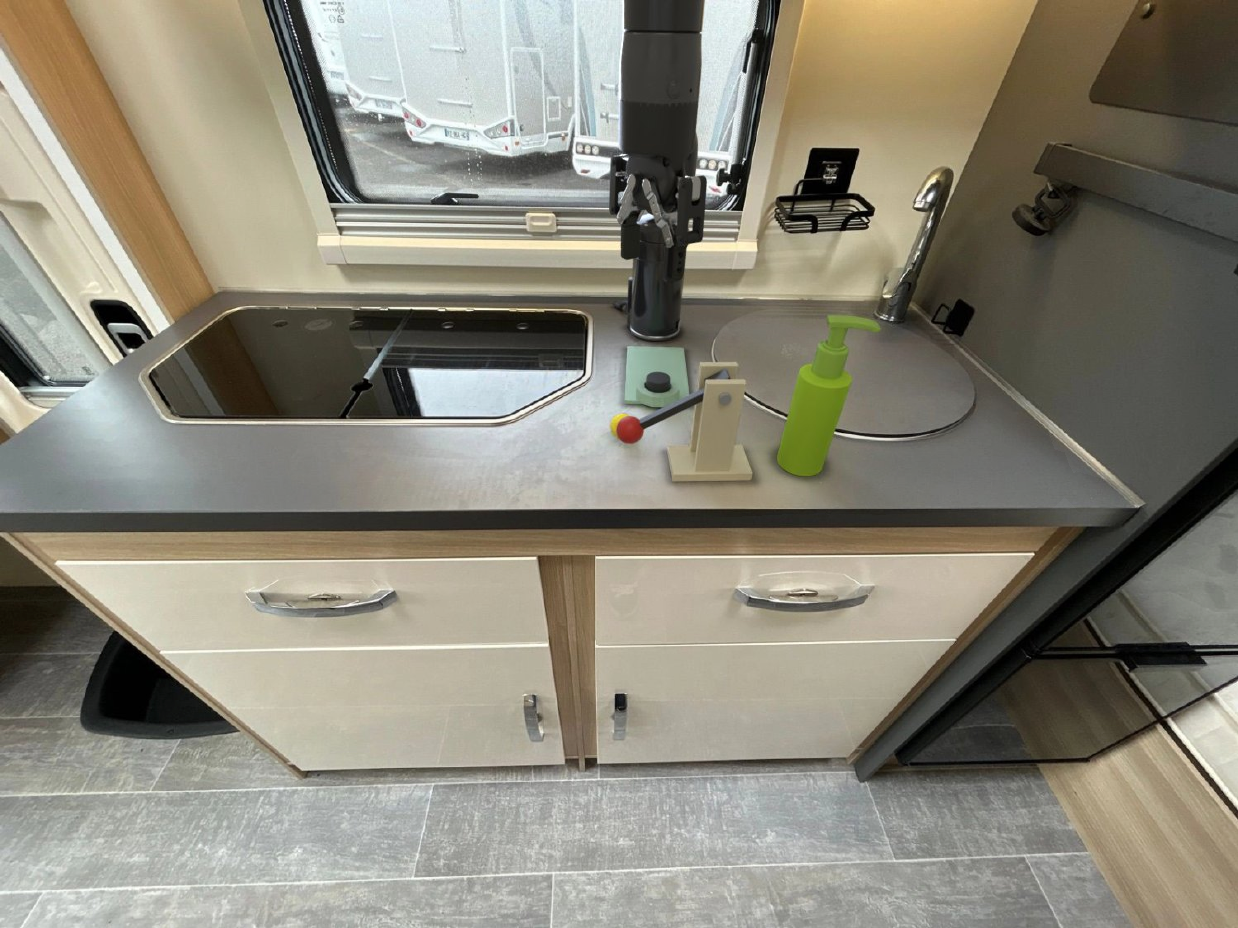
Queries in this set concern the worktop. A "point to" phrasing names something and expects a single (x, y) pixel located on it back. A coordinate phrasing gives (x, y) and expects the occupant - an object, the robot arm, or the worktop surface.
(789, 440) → the soap dispenser
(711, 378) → the lever
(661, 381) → the button
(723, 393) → the bracket
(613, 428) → the yellow rounded piece
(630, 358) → the button block
